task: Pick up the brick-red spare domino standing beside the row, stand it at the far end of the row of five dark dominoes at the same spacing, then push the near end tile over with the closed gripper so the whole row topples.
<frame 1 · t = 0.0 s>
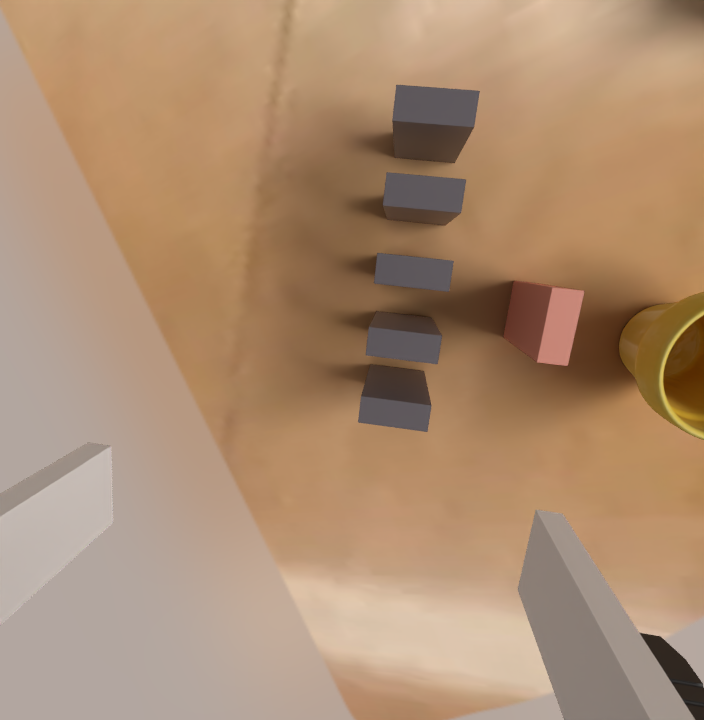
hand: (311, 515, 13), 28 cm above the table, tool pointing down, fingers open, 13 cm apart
domino 5: (395, 377, 41), on the table
spare domino: (519, 310, 38), on the table
domino 4: (402, 325, 40), on the table
plant pot: (656, 343, 38), on the table
domino 1: (426, 147, 36), on the table
domino 2: (417, 210, 38), on the table
domino 3: (410, 269, 39), on the table
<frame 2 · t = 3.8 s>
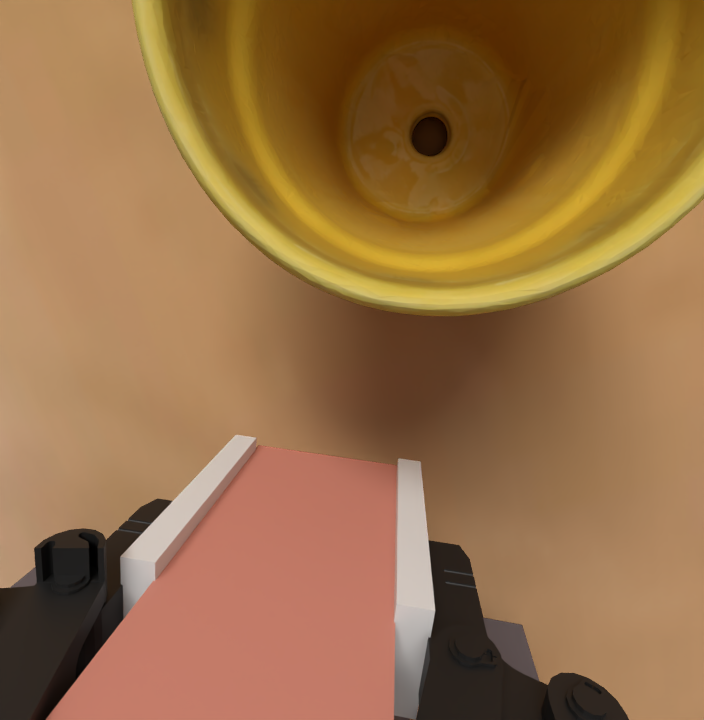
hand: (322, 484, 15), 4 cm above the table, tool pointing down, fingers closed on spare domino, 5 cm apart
domino 5: (489, 665, 20), on the table
spare domino: (324, 480, 16), point 3 cm above the table, touching gripper
plant pot: (427, 139, 16), on the table
when the fingers open (1 cm above the table, at t = 8.5 s): spare domino stays where it is, on the table.
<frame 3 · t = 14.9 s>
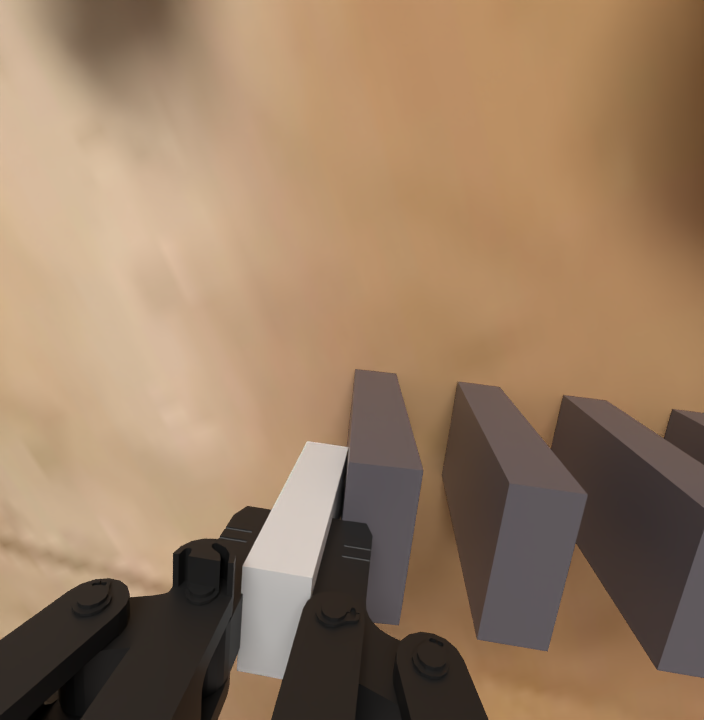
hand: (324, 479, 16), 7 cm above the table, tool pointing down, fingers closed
domino 4: (679, 460, 21), on the table
domino 1: (369, 419, 22), on the table, touching gripper
domino 2: (469, 432, 22), on the table
domino 3: (573, 446, 21), on the table
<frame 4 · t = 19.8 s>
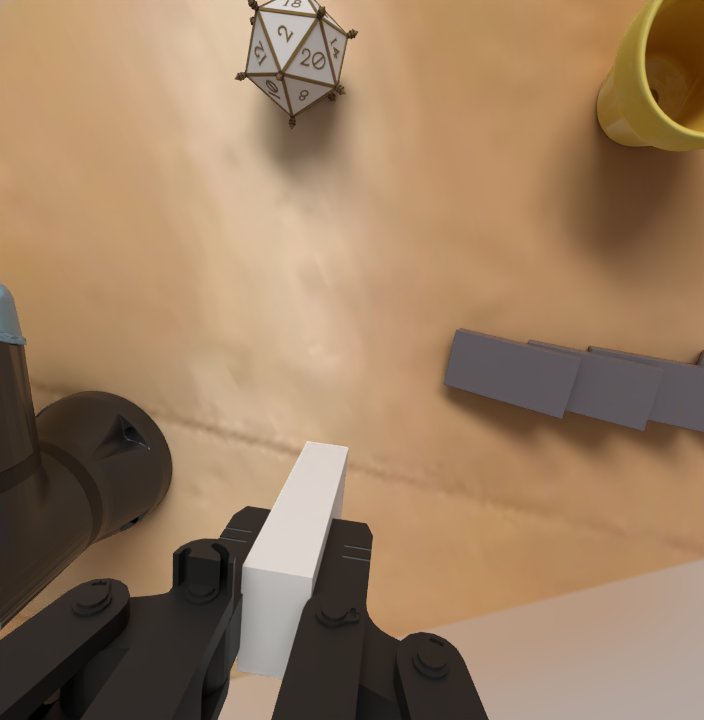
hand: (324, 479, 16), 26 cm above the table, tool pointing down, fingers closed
domino 4: (692, 378, 38), point 1 cm above the table, tilted 63°, touching domino 5
plant pot: (640, 103, 35), on the table
game die: (307, 77, 37), on the table
domino 1: (452, 355, 40), point 1 cm above the table, tilted 70°, touching domino 2
domino 2: (522, 367, 39), point 1 cm above the table, tilted 68°, touching domino 1, domino 3
domino 3: (583, 374, 39), point 1 cm above the table, tilted 74°, touching domino 2
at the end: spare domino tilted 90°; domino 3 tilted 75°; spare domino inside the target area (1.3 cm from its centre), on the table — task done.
